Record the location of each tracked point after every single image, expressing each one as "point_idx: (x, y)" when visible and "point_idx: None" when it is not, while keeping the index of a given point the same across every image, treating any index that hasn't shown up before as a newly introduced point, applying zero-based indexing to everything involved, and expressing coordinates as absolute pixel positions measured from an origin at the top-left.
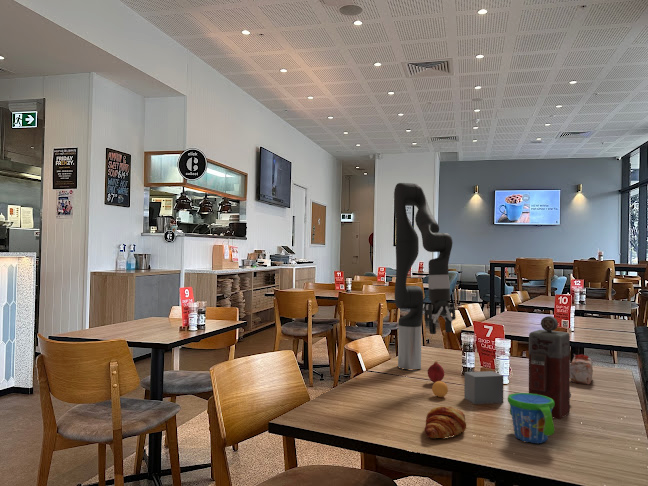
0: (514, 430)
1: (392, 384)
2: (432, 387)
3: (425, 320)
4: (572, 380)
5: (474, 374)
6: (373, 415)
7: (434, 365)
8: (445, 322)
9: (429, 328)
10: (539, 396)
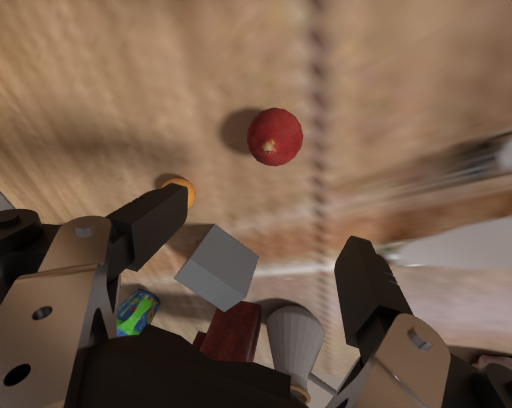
0: (130, 295)
1: (176, 21)
2: (163, 184)
3: (7, 222)
4: (482, 357)
5: (189, 276)
6: (30, 147)
7: (255, 145)
8: (375, 301)
9: (134, 201)
10: None
